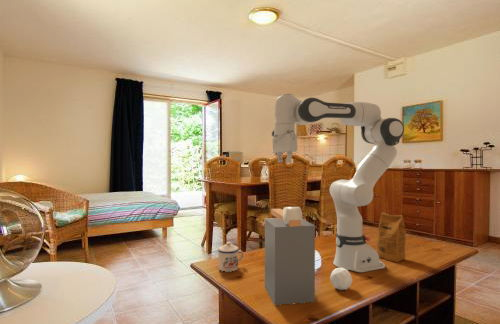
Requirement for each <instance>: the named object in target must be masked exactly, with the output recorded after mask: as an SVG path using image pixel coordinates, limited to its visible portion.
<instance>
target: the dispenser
mask: <svg viewBox="0 0 500 324" xmlns="http://www.w3.org/2000/svg"><path fill="white" fill-rule="evenodd" d="M315 238H316V225H315V224H313V223H311V222H309V221H308V220H306V219H304V218H302V223H301V226H293V227H289V226H288V225H285V224H284V222H282V221H281V220H279V219H278V218H277V217H273V218H272V217H269V218H264V289H265V288H266V289H265V291H266V290H267V291H266V292H267V295H268V296H269V298H270V297H271V298H270V299H272V300H271V302H272V301H273V302H272V304H273V305H274V304H275V305H279V306H281V305H280V304H290V305H294V304H293V303H300V304H305V303H304V302H311V303H315V301H316V300H315V298H316V295H315V294H316V291H315V289H316V288H315V287H316V279H315V278H316V275H315V274H316V239H315ZM275 305H274V306H275Z"/></svg>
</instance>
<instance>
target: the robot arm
mask: <svg viewBox="0 0 500 324" xmlns="http://www.w3.org/2000/svg"><path fill="white" fill-rule="evenodd" d="M381 111H382V110H381V108H380V106H378V104H375V103H371V102H364V101H351V102H350V101H348V102H343V103H341V102H340V103H339V102H326V101H323V100H322V99H319V98H318V97H308V98H306V99H304V100H303V101H302V100H300V99H298V98H297V97H295V96H294V94H291V93H286V94H281V95H280V96H278V97H277V98H276V99H275V103H274V117H275V122H274V128H273V130H272V132H271V137H272V151H273V153H275V154H276V156H277V162H278V163H279V164H281V163H283V161H284V159H283V153H284V154H285V153H286V158H285V162H286V163H288V164H290V163H292V157H293V153H296V152H297V151H298V138H297V137H298V136H297V134H296V132H295V129H296V127H295V126H296V125H300V126H304V125H305V126H306V125H308V124H311V123H315V122H318V121H321V120H322V119H338V120H339V123H341V125H344V126H350V127H360V132H361V133H360V134H361V137H362V140H363V141H364V142H365V143H366V144H372V145H373V146H372V147H371V149H370V151H368V153H367V154H366V155H365V156H364V157H363V158H362V160H361V161H360V162H359V163H358V164H357V165H356V167H355V173H354V175H353V177H352V178H350V179H338V180H335V181H333V182H332V183H331V185H330V186H329V194H330V196H331V198H332V200H333V204H334V209H335V213H336V233H335V234H336V235H335V247H336V248H335V249H336V250H335V254H334V259H333V262H332V263H333V265H334V266H335V267H337V268H344V269H346V270H348V271H353V272H357V273H365V272H371V271H376V270H380V269H385V268H386V265H385V263H384V262H382V261H381V260H380V257H379V255H378V253H377V249H374V248H373V247H372V246H371V245H369V243H367V242H371V236H368V235H364V234H363V216H362V215H361V213H360V211H359V208H358V207H364V206H367V205H369V204H370V203H371V202H372V201H373V198H374V191H373V190H374V187H375V185H376V183H377V182H378V180H379V179H380V178H381V176H383V175H384V173H385V172H386V171H387V170H388V168H389V167H390V166H392V163H393V161H394V160H395V158H396V157H397V153H398V150H397V148H396V147H395V146H396V145H398V144H399V143H400V140H401V138H402V137H403V135H404V133H405V126H404V125H405V124H404V123H403V122H402V120H401V119H398V118H396V117H388V118H382V116H381V115H382V112H381Z"/></svg>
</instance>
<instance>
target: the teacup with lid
mask: <svg viewBox="0 0 500 324" xmlns="http://www.w3.org/2000/svg"><path fill="white" fill-rule="evenodd" d="M217 252H218V270H219V271H220V270H221V271H220V272H223V271H225V272H224V273H231V272H232V271H233V272H235V270H236V271H237V270H238V268H239V262H241V261H242V260H243V258H244V254H245V253H244V251H242V249H239V247H238V246H236V245H234V244H233V243H232V242H230V241H226V243H225V244H224V245H222V246H219V247H218V250H217ZM239 253H241V256H240V258H239Z"/></svg>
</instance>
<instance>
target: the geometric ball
mask: <svg viewBox="0 0 500 324" xmlns="http://www.w3.org/2000/svg"><path fill="white" fill-rule="evenodd" d="M351 274H352V273H350V270H347V269H344V268H339V267H337V268H334V269H333V270H332V272H331V274H330V277H329V278H330V283H331V284H332V286H333V287H334V288H335V289H337V290H339V291H344V290H345V291H346V290H348V289H349V288H350V287H351V285H352V283H353V278H352V275H351Z"/></svg>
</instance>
